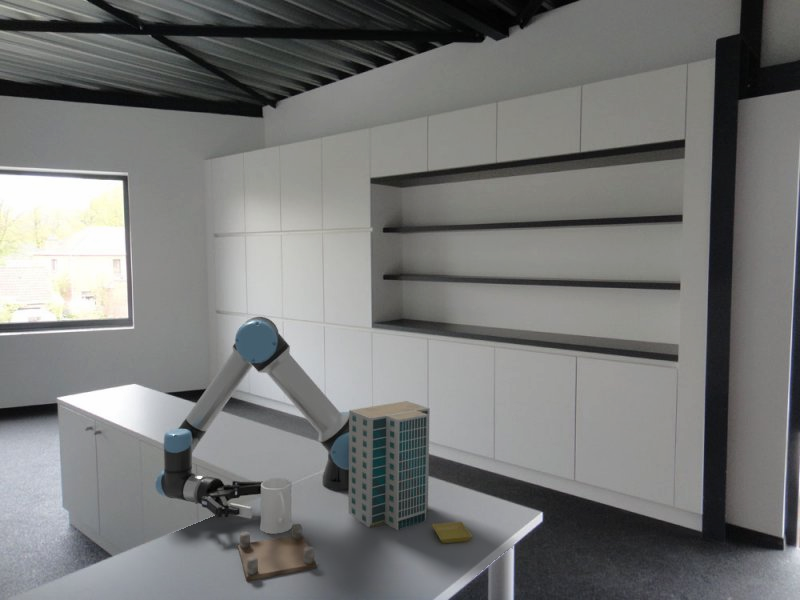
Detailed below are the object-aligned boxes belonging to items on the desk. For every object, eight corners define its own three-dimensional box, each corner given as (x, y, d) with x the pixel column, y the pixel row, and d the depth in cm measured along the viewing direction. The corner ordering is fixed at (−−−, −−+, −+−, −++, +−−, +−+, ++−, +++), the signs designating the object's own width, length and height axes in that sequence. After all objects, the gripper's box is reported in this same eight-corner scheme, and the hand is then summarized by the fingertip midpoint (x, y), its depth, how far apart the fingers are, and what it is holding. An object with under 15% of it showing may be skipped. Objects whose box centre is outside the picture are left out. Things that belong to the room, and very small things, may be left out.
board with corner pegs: (301, 537, 149) (301, 522, 149) (316, 567, 134) (316, 551, 134) (237, 548, 143) (237, 532, 143) (246, 581, 128) (246, 563, 128)
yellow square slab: (472, 543, 148) (472, 535, 148) (440, 546, 146) (440, 538, 146) (461, 529, 156) (462, 521, 156) (431, 531, 154) (431, 524, 154)
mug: (297, 536, 150) (297, 491, 149) (264, 542, 146) (264, 496, 146) (288, 518, 160) (289, 476, 160) (257, 522, 157) (257, 479, 157)
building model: (381, 535, 151) (382, 422, 149) (348, 513, 164) (349, 410, 162) (440, 516, 163) (441, 412, 161) (405, 497, 176) (406, 400, 175)
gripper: (233, 488, 174) (293, 499, 165) (171, 520, 151) (236, 536, 142) (233, 463, 173) (293, 474, 165) (171, 492, 150) (236, 507, 142)
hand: (267, 503), depth 154 cm, fingers open, 13 cm apart
